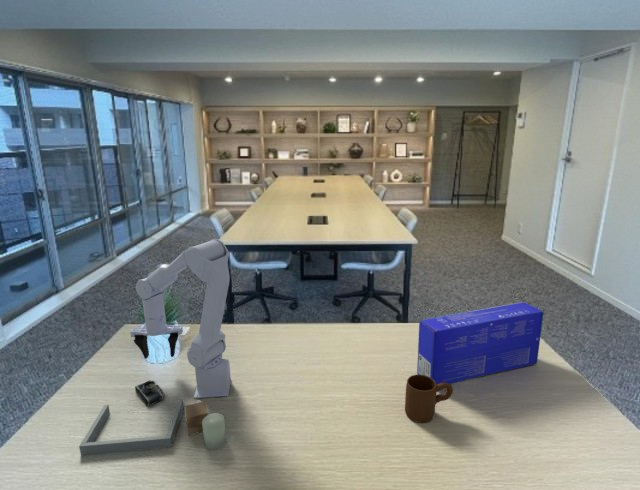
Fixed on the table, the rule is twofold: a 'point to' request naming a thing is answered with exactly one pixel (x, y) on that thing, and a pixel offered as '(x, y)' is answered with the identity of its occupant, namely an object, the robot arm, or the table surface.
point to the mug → (424, 397)
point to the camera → (150, 392)
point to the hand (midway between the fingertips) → (159, 356)
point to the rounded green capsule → (214, 431)
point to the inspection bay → (127, 444)
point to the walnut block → (195, 417)
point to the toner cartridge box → (479, 342)
